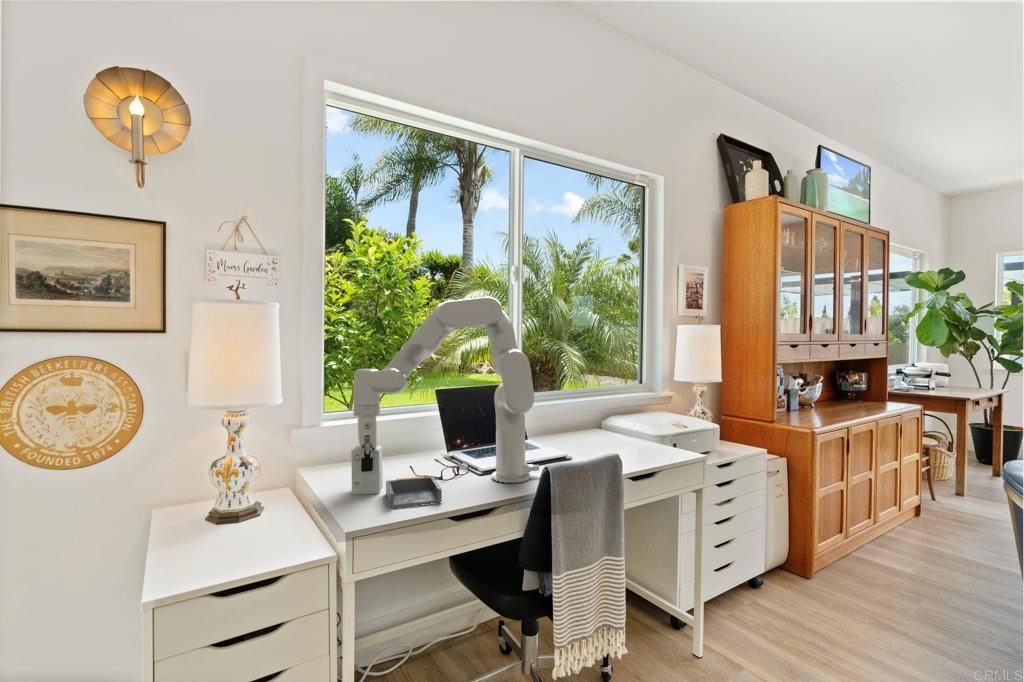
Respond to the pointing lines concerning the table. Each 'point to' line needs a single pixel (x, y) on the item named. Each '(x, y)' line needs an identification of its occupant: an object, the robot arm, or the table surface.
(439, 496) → the cradle
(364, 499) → the table surface
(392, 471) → the table surface
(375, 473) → the small box
